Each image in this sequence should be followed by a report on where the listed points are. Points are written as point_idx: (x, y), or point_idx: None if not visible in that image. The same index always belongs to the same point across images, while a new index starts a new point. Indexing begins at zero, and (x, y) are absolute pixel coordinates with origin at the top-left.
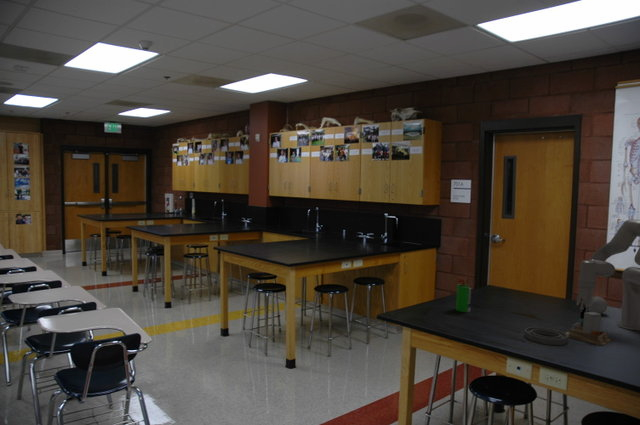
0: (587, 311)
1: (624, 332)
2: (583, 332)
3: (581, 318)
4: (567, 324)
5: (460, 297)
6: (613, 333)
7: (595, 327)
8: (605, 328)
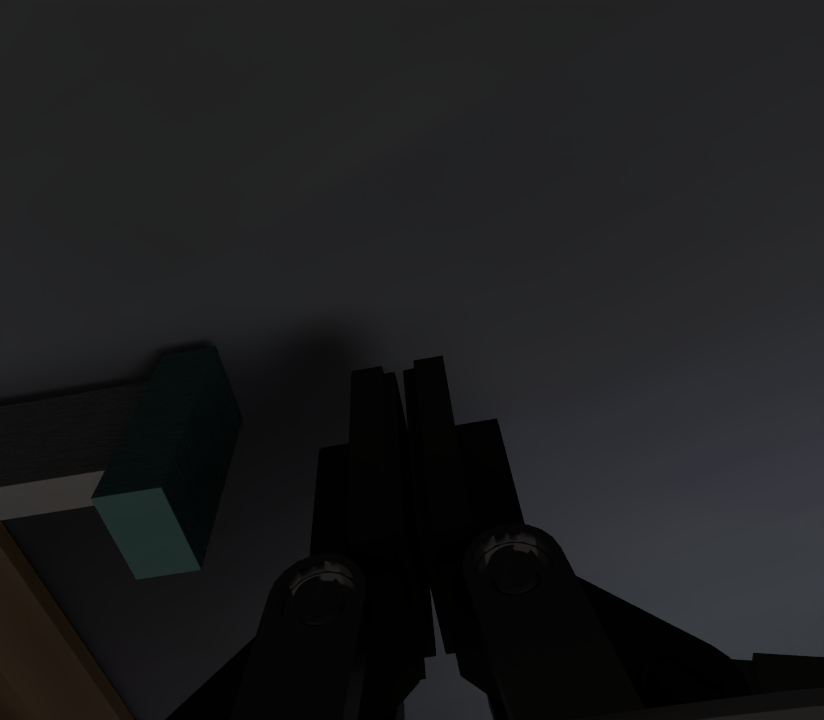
0: (482, 683)
1: None
2: None
3: (143, 536)
4: (210, 13)
5: None
6: None
7: None
8: (686, 530)
